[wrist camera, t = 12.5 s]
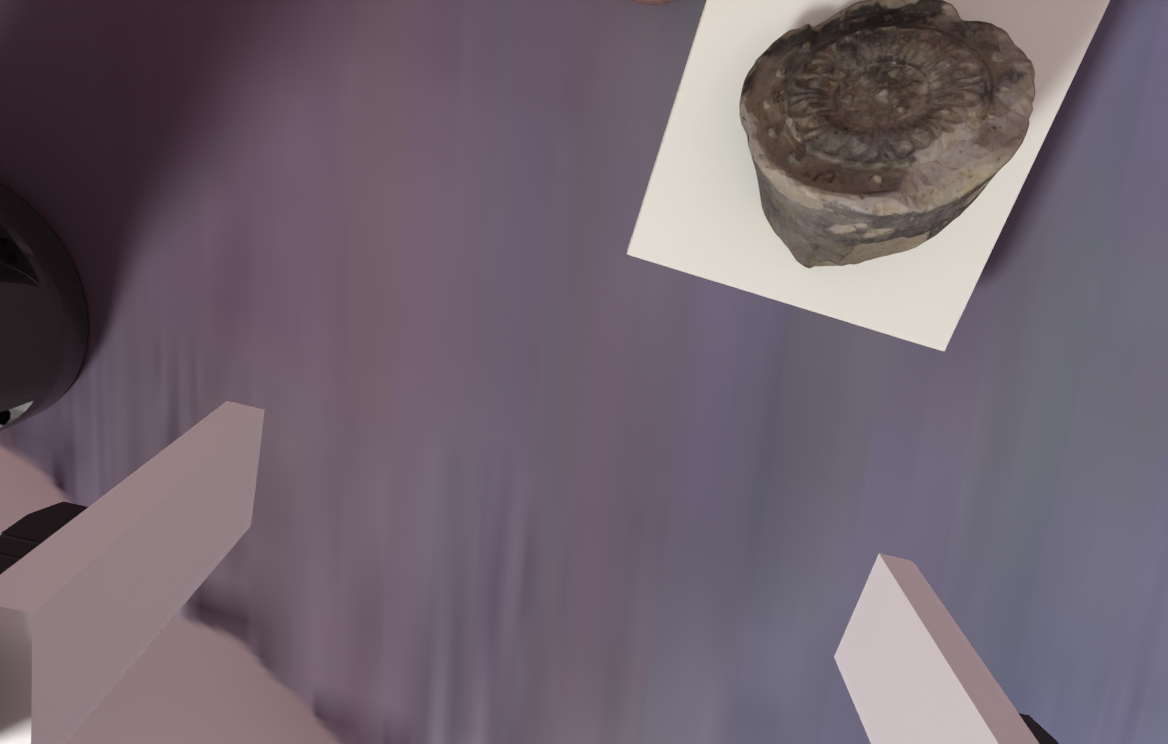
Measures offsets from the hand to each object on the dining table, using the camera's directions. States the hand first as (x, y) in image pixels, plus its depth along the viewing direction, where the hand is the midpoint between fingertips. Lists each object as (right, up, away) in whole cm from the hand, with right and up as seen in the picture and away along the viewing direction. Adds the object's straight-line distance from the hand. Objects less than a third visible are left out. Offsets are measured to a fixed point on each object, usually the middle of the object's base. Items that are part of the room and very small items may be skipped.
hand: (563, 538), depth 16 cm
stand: (+13, +15, +22) cm, 29 cm away
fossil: (+12, +14, +18) cm, 26 cm away
